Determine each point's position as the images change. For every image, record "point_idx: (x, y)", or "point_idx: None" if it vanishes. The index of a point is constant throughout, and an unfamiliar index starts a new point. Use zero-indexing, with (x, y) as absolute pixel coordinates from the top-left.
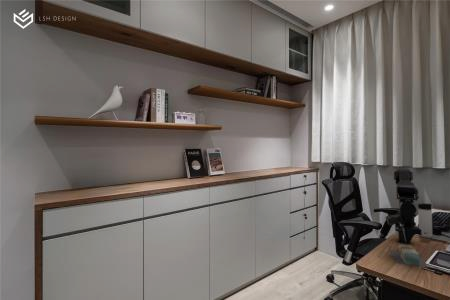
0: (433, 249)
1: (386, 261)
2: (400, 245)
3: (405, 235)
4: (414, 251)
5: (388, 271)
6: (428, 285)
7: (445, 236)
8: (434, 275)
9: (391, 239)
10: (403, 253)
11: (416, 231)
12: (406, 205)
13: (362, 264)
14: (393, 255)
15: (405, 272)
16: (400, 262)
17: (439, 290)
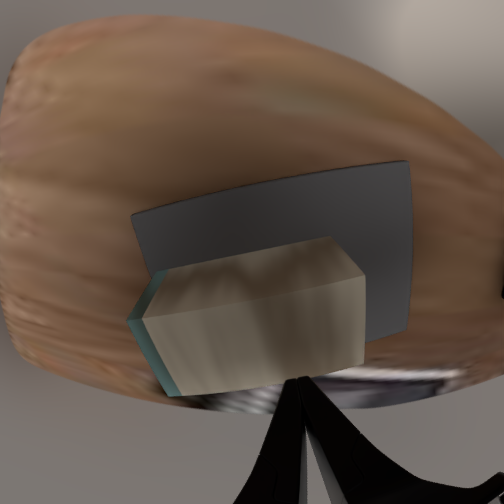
0: (465, 364)
1: (147, 144)
2: (349, 285)
3: (249, 481)
4: (225, 382)
5: (19, 183)
6: (26, 332)
7: None
8: (129, 373)
9: None
10: (191, 294)
11: None
12: None
13: (35, 48)
14: (292, 190)
15: (59, 263)
16: (159, 241)
17: (26, 353)
